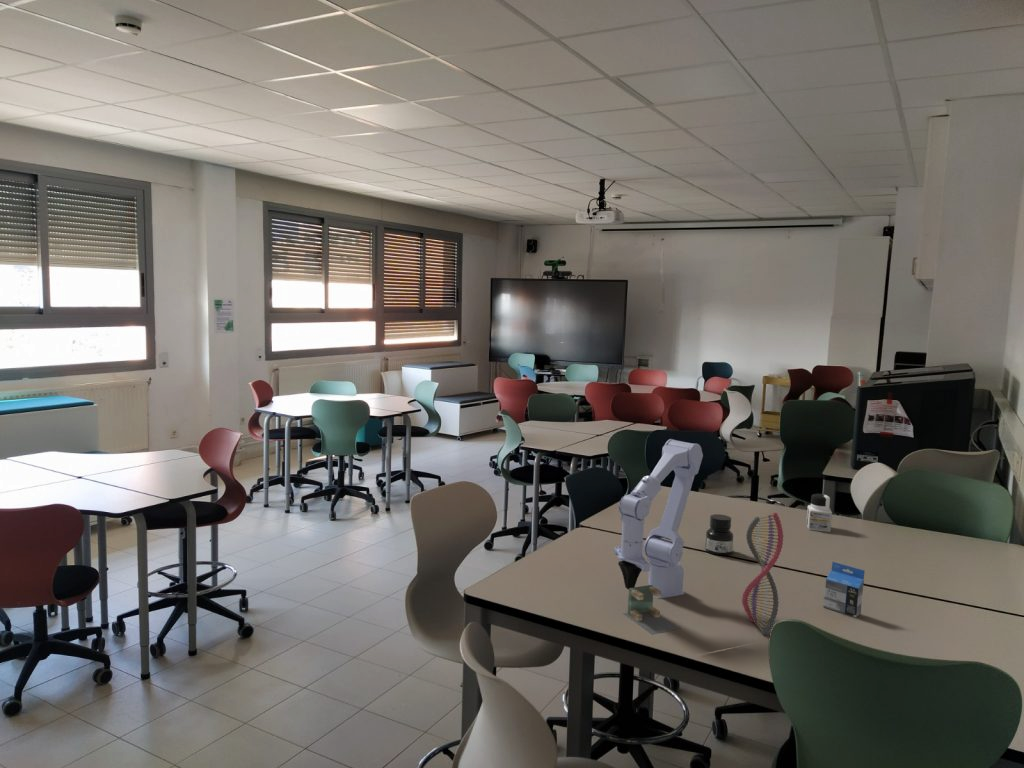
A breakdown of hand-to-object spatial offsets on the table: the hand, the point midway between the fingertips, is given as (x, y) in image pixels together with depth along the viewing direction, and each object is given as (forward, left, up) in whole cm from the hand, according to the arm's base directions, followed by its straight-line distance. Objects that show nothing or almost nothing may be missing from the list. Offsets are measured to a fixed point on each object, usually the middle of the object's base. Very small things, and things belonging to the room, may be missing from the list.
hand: (629, 588), depth 192 cm
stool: (0, +7, -5) cm, 8 cm away
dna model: (-24, +23, -5) cm, 34 cm away
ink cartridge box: (-54, +23, -5) cm, 59 cm away
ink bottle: (-54, -27, -5) cm, 61 cm away
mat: (0, +10, -5) cm, 12 cm away
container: (-109, -35, -5) cm, 115 cm away
